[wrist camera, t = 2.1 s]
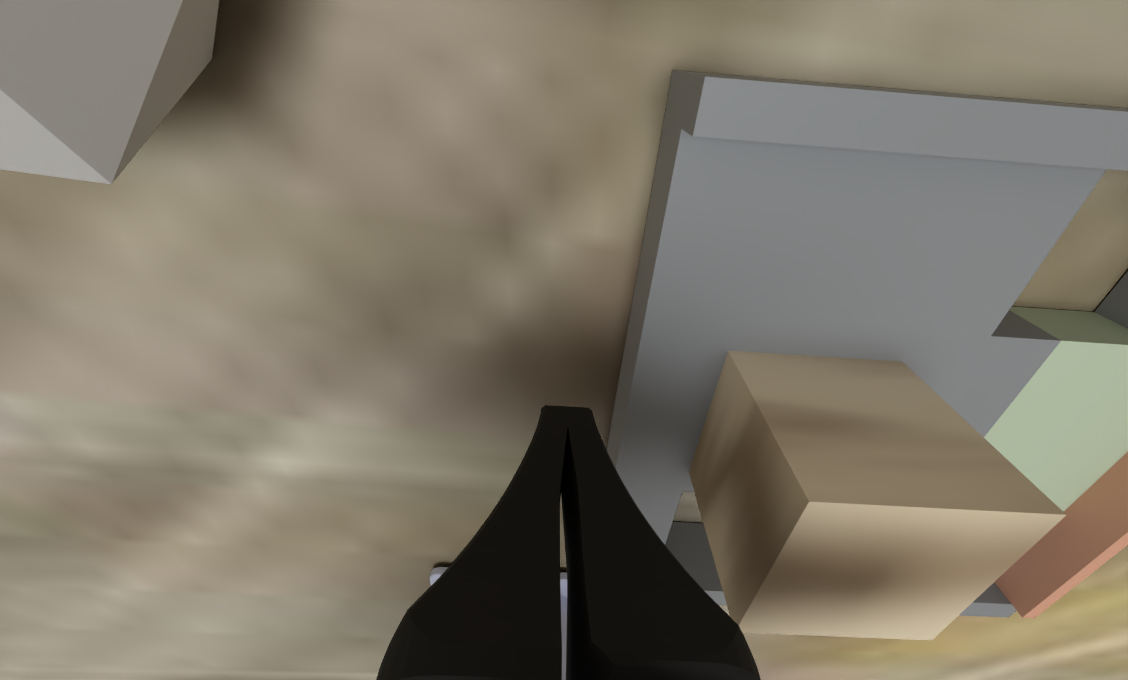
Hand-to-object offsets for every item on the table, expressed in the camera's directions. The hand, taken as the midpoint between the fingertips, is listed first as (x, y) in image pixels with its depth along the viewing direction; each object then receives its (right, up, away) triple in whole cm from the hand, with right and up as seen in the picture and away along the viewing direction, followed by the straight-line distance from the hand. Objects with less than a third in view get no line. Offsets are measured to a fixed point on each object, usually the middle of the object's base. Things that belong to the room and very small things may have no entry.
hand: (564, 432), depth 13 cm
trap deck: (+10, +1, +3) cm, 11 cm away
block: (+7, 0, +1) cm, 7 cm away
